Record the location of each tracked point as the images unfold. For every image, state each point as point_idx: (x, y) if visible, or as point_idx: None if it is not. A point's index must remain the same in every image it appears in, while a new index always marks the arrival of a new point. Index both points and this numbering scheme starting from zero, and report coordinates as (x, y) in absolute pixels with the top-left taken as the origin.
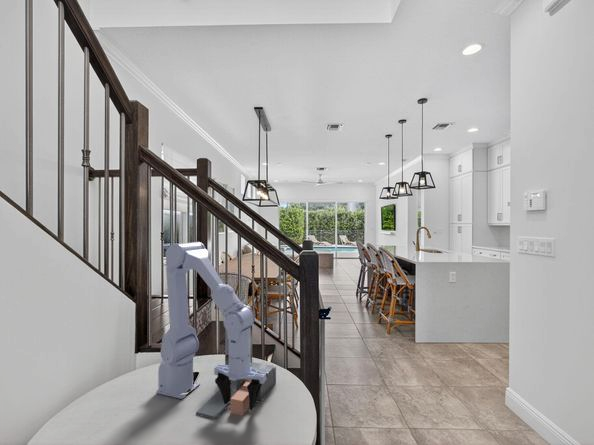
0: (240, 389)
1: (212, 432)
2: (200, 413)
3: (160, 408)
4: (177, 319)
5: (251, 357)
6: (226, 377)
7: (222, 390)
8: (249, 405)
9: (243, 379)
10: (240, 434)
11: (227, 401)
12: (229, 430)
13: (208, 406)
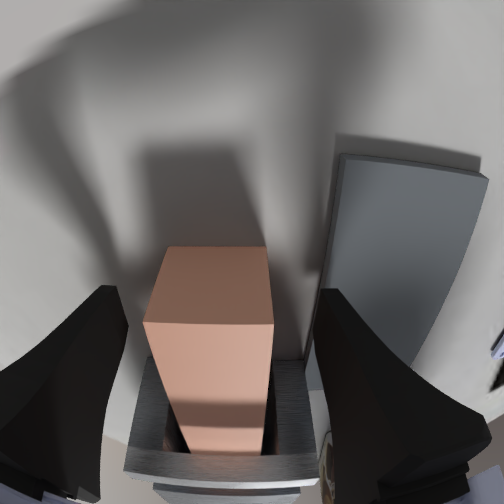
0: (254, 407)
1: (284, 13)
2: (462, 174)
3: None
4: None
5: (321, 492)
6: (371, 497)
7: (380, 369)
8: (98, 302)
9: (259, 465)
10: (69, 79)
11: (320, 309)
12: (162, 74)
13: (436, 246)
